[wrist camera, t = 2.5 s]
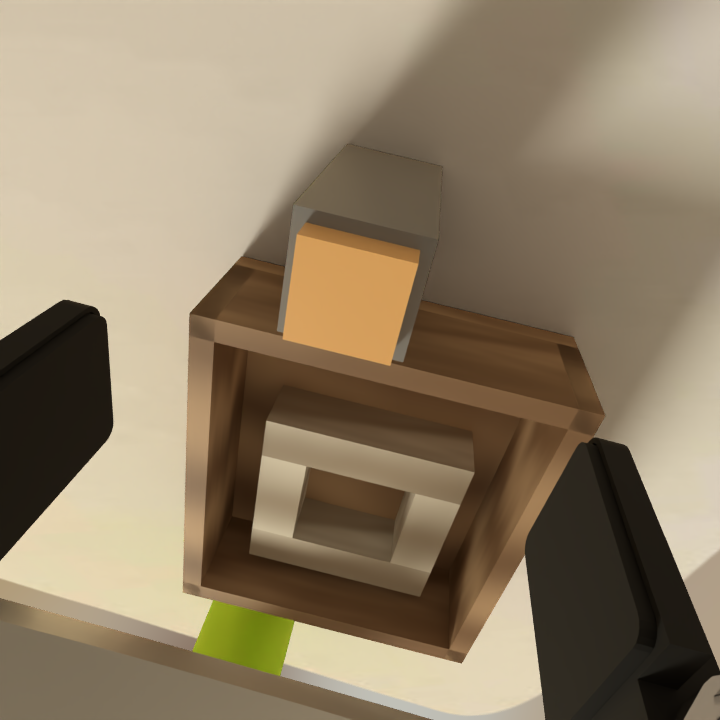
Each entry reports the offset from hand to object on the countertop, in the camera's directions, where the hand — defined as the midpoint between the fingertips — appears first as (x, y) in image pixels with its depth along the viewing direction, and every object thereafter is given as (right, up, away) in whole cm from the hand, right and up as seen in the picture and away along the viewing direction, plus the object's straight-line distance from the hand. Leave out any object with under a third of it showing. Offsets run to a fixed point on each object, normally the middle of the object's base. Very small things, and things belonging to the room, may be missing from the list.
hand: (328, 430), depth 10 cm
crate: (+1, -3, +19) cm, 20 cm away
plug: (+2, +8, +12) cm, 15 cm away
